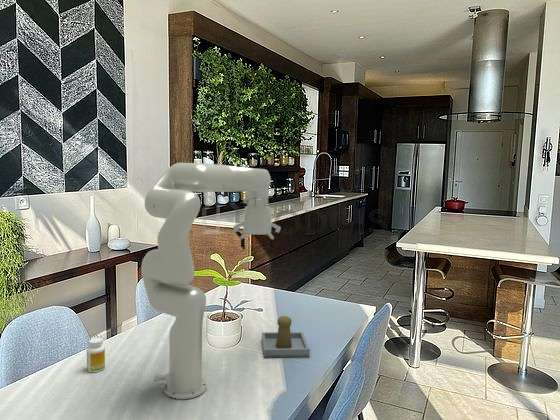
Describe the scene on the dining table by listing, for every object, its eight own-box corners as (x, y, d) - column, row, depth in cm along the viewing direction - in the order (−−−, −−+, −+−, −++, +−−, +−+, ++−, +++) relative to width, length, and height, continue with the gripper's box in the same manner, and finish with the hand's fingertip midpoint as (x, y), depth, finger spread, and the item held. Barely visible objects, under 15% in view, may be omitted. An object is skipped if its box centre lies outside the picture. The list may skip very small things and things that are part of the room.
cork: (290, 350, 160) (291, 320, 159) (273, 348, 161) (274, 319, 160) (293, 343, 166) (294, 315, 165) (277, 342, 167) (278, 313, 166)
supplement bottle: (108, 367, 145) (108, 338, 144) (95, 374, 140) (94, 344, 139) (96, 363, 147) (96, 335, 146) (83, 370, 143) (82, 341, 142)
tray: (264, 358, 155) (264, 349, 155) (261, 339, 171) (261, 332, 171) (309, 357, 157) (309, 349, 157) (302, 339, 173) (302, 332, 173)
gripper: (233, 203, 157) (232, 251, 159) (282, 204, 158) (281, 251, 160) (233, 201, 164) (233, 247, 166) (280, 202, 166) (279, 247, 168)
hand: (256, 249), depth 163 cm, fingers open, 9 cm apart
